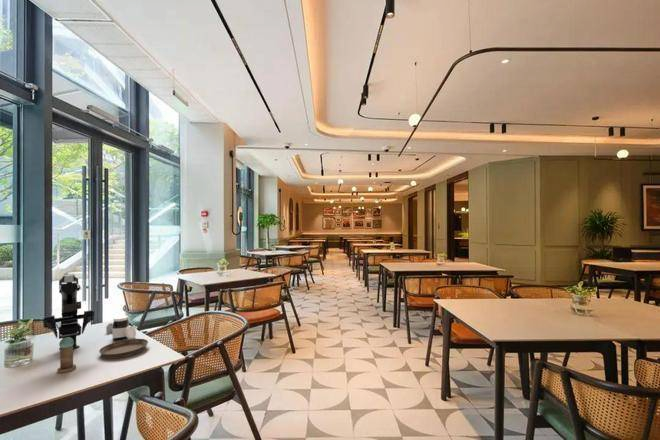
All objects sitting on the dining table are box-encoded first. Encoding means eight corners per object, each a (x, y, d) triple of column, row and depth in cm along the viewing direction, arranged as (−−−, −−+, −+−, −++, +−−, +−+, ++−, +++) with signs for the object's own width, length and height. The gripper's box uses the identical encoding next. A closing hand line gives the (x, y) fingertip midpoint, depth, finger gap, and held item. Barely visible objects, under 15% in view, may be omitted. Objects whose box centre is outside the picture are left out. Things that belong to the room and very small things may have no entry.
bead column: (54, 371, 145) (54, 338, 145) (71, 365, 151) (71, 334, 151) (61, 374, 142) (61, 340, 142) (79, 368, 148) (78, 336, 148)
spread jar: (114, 336, 191) (114, 316, 191) (137, 333, 195) (137, 313, 195) (110, 343, 180) (110, 321, 180) (134, 339, 184) (134, 318, 184)
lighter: (106, 333, 197) (106, 319, 197) (106, 332, 198) (106, 319, 198) (120, 330, 201) (120, 317, 201) (120, 330, 203) (120, 316, 203)
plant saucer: (88, 361, 156) (88, 354, 156) (115, 345, 177) (115, 339, 177) (134, 359, 157) (134, 352, 157) (155, 344, 177) (155, 337, 178)
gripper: (43, 299, 151) (42, 331, 143) (94, 293, 162) (95, 322, 154) (44, 311, 157) (43, 343, 149) (93, 305, 169) (94, 334, 161)
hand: (69, 335), depth 153 cm, fingers open, 9 cm apart
